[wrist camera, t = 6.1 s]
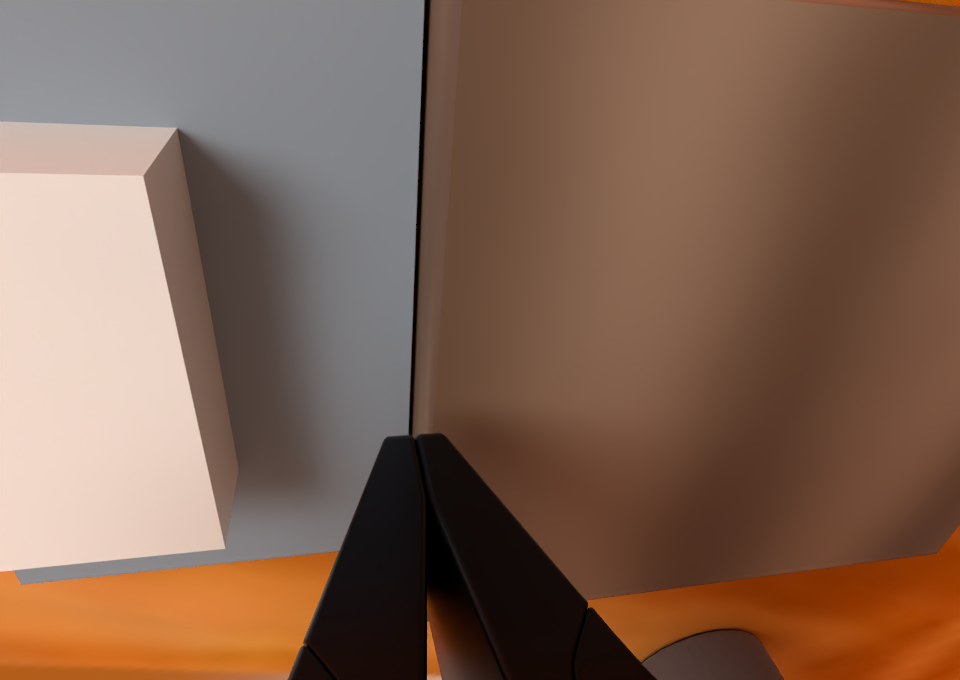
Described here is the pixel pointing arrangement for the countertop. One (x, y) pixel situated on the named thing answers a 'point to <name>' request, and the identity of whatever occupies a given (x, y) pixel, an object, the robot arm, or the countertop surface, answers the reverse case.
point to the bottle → (714, 658)
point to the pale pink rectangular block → (105, 353)
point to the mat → (265, 223)
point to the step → (695, 279)
